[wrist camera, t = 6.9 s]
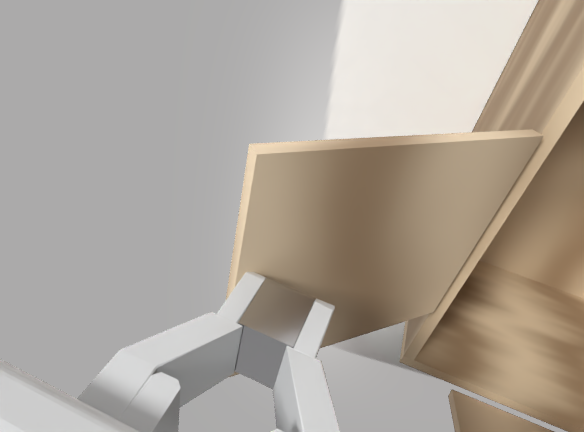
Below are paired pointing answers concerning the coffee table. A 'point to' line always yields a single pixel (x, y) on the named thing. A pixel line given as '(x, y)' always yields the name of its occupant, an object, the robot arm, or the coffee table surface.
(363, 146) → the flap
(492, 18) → the coffee table surface
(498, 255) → the open wooden box
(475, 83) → the coffee table surface
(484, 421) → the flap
